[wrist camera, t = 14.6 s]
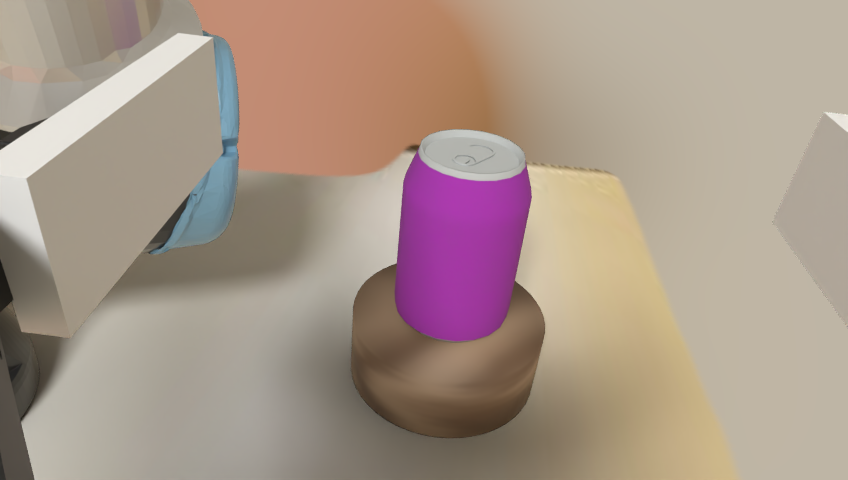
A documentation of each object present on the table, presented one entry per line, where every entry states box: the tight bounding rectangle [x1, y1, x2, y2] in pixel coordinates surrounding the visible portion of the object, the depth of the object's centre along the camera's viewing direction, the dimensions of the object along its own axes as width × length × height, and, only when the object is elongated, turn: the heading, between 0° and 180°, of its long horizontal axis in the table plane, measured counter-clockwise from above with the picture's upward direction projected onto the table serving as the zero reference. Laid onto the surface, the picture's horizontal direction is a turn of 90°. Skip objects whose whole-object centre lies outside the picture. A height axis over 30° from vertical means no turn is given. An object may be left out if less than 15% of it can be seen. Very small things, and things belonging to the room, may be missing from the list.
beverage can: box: [395, 129, 532, 343], centre depth 40 cm, size 8×8×12 cm
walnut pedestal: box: [351, 264, 545, 438], centre depth 45 cm, size 13×13×5 cm
